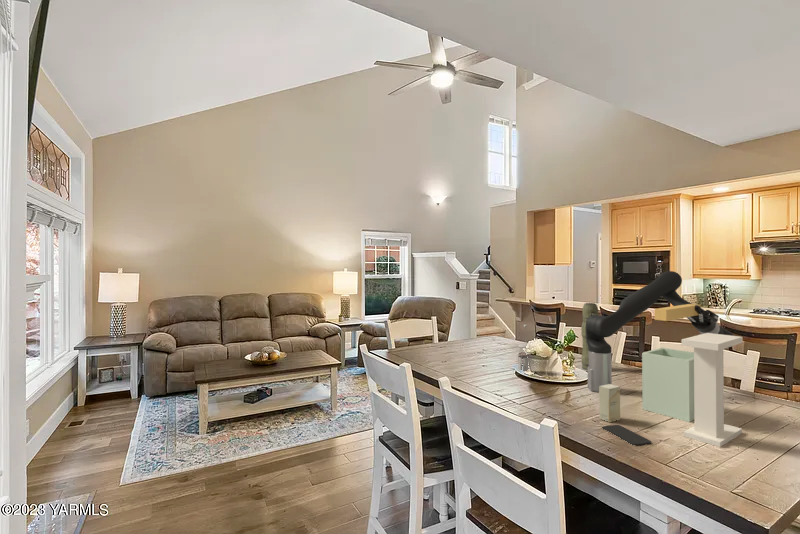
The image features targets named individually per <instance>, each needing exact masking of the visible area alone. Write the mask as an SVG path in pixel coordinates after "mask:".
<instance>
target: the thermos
mask: <svg viewBox="0 0 800 534" xmlns="http://www.w3.org/2000/svg"><path fill="white" fill-rule="evenodd" d="M582 306H583V307H582V322H581V323H582V324H581V327H580V328H581V337H582V352H581V369H582V370H586V371H588V366H589V348H588V345H587V341H586V322H587V319H588V318H589V317H590V316H592V315H599V307H598V305H597V304H596V303H595V302H594V303H593V302H585V303H584V304H583V305H582Z"/></svg>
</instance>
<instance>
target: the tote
mask: <svg viewBox="0 0 800 534" xmlns="http://www.w3.org/2000/svg"><path fill="white" fill-rule="evenodd" d="M641 370H642V371H641V374H642V375H641V377H642V378H641V383H642V384H641V385H642V386H641V387H642V388H641V389H642V394H641V395H642V399H641V400H642V401H641V402H642V410H643V409H644V410H645V411H647V412H652V413H655V414H657V415H658V414H659V415H661V414H662V415H663V416H665V415H666V417H669V416H670V417H669V418H672V417H673V419H676V418H677V419H676V420H679V419H680V421H683V422H687V423H690V422H692V421H693V422H694V421H695V419H694V351H693V352H692V351H688V350H687V351H686V350H680V349H674V348H668V347H667V348H666V347H660V348H659V347H658V348H655V349H651V350H648V351H644V352H642V353H641ZM644 410H643V411H644Z"/></svg>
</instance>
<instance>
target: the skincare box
mask: <svg viewBox="0 0 800 534" xmlns="http://www.w3.org/2000/svg"><path fill="white" fill-rule="evenodd" d="M598 396H599V397H598V398H599V399H598V400H599V401H598V405H599V407H598V409H599V412H598V413H599V415H598V416H599V420H602V421H604V420H605V422H607V421H608V422H607V423H612V422H616V420H617V421H620V420H621V386H620V385H616V384H606V385H602V386H599V392H598Z"/></svg>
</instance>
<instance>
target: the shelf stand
mask: <svg viewBox="0 0 800 534" xmlns="http://www.w3.org/2000/svg"><path fill="white" fill-rule="evenodd" d="M743 338H744V337H743V336H738V335H737V336H736V335H734V336H731V335H722V334H713V333H705V334H701V333H700V334H697V335H693V336H690V337H686V338H685V337H684V338H682V339H681V347H682V346H683V347H691V348H693V352H694V419H695V420H694V425H693V426H691V427H690V428H688V429H686V430H683V437H685V438H689V439H691V440H695V441H699V442H701V443H705V444H708V445H712V446H715V447H718V448H722V447H723V446H725V445H726V444H727V443H729V442H731V441H732V440H734V439H735V438H737V437H739V436H740V435H742V434H743V428H741V427H737V426H733V425H729V424H725V421H724V420H725V414H724V413H725V411H724V410H725V408H724V407H725V406H724V405H725V403H724V400H725V399H724V398H725V395H724V394H725V391H724V390H725V389H724V387H725V386H724V385H725V384H724V371H725V370H724V368H725V367H724V350H725V349H728V348H730V347H731V348H732V347H734V346H737V345H740V344H743V342H744V341H743Z"/></svg>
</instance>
